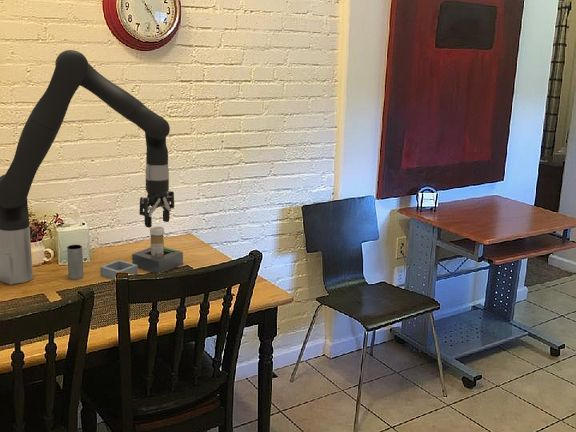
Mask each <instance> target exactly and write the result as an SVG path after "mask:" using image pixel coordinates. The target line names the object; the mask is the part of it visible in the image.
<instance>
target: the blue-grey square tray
mask: <svg viewBox="0 0 576 432" xmlns="http://www.w3.org/2000/svg"><path fill="white" fill-rule="evenodd" d="M99 268H100V269H99V270H100V271H99V272H100V276H101V277H105V278H108V279H111V280H114V281H116V280H115V277H116V273H118V272H126V273H128V274H136V275H138V274H139V268H138V265H136V264H132V263H131V262H129V261H126V260H121V259H118V260H114V261H112V262H110V263H109V262H108V263H107V264H104V265H100V266H99Z"/></svg>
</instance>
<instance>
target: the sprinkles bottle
mask: <svg viewBox="0 0 576 432" xmlns="http://www.w3.org/2000/svg"><path fill="white" fill-rule="evenodd" d="M149 234H150V247H151V256H155V257H161V256H164V247H165V245H164V243H165V242H164V240H165V239H164V234H165V229H164V227H163V226H152V227H150V228H149Z"/></svg>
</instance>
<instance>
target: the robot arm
mask: <svg viewBox="0 0 576 432" xmlns="http://www.w3.org/2000/svg"><path fill="white" fill-rule="evenodd" d="M54 65H55V66H54V70H53V73H52V76H51V79H50V81H49V83H48V86H47V87H46V90H45V92H44V93H43V95H41V97H40V98H39V100H38V101H37V103H36V104H35V106H34V107H33V109H32V110H31V112H30V114H29V116H28V118H27V120H26V121H25V124H24V126H23V129H22V131H21V133H20V136H19V139H18V142H17V144H16V145H17V146H16V149H15V154H14V157H13V159H12V162H11V163H10V166H9V167H8V169H7V170H6V173H5V174H2V175H0V282H2V283H3V284H4V283H5V284H7V285H11V286H12V285H15V284H16V285H17V284H23V283H27V282H29V281H31V280H32V279H34V273H33V272H34V271H33V258H32V256H33V255H32V244H31V227H30V214H29V205H28V197H29V193H30V189H31V188H32V184H33V181H34V178H35V177H36V173H38V170H39V168H40V166H41V165H42V163H43V161H44V159H45V158H46V156H47V154H48V153H49V151H50V148H51V147H52V145H53V143H54V142H55V139H56V137H57V136H58V133H59V132H60V130H61V126H62V125H63V122H64V119H65V116H66V114H67V111H68V109H69V106H70V103H71V101H72V99H73V97H74V95H75V93H77V90H78V89H79V87H82V88H84V89H85V90H86V91H88V92H90V93H92V94H93V95H95V96H96V97H97V98H99V99H100V100H101V101H102V102H104V103H105V104H106V105H107V106H108V107H110V108H111V109H112V110H113V111H115V112H116V113H118V114H119V115H121V116H122V117H124V118H125V120H127V121H129V122H131V123H132V124H134V125H136V127H138V128H140V129H141V130H142V131H143V132H144V135H145V136H144V137H145V144H146V152H145V153H146V154H145V155H146V156H145V158H146V159H145V162H146V163H145V164H146V166H145V191H146V193H147V196H146V197H144V196H141V197H140V198H139V213H138V214H139V215H140V216H143V217H144V226H145V228H149V229H150V228H152V227H153V226H152V224H153V222H152V221H153V220H152V219H153V217H152V215H153V212H155V211H156V209H158V208H160V207H161V208H162V222H165V223H169V222H170V214H171V213H170V212H171V210H172V209H175V192H174V191H172V190H170V189H169V188H170V182H169V181H170V169H169V149H168V147H167V137H168V136H169V134H170V131H171V127H170V124H169V122H168V121H167V119H165V118H163V116H161V115H159V114H158V113H156V112H154V111H152V110H151V109H149V108H148V107H147V106H146V105H145V104H144V103H143V102H141V101H140V100H139V99H137V98H136V97H135V96H133V95H132V94H131V93H130V92H128V91H126V90H125V89H124V88H122V87H120V86H119V85H117V84H115V83H114V82H112V81H111V80H109V79H108V78H107V77H105V76H104V75H102V74H101V73H100V72H99V71H97V70H96V69H95V68H94V67H93V66H92V65H91V64H90V63H89V62H88V59H87V58H86V56H85V55H84V54H83V53H81V52H80V51H77V50H74V49H67V50H64V51H62V52H60V53H59V54H58V56H56V59H55V64H54Z"/></svg>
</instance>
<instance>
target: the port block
mask: <svg viewBox="0 0 576 432" xmlns="http://www.w3.org/2000/svg"><path fill="white" fill-rule="evenodd" d="M131 260H132V264H136V265H138V270H143V271H146V272H150V273H153V274H156V273H159V272H163V271H166V272H169V271H171V270H173V269H176V268H177V267H180V266H182V265H184V252H183V251H180V250H177V249H173V248H170V247H165V246H164V256H161V257H155V256H151V246H150V247H148V248H145V249H142V250H140V251H137V252H134V253H131ZM170 269H171V270H170Z"/></svg>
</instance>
